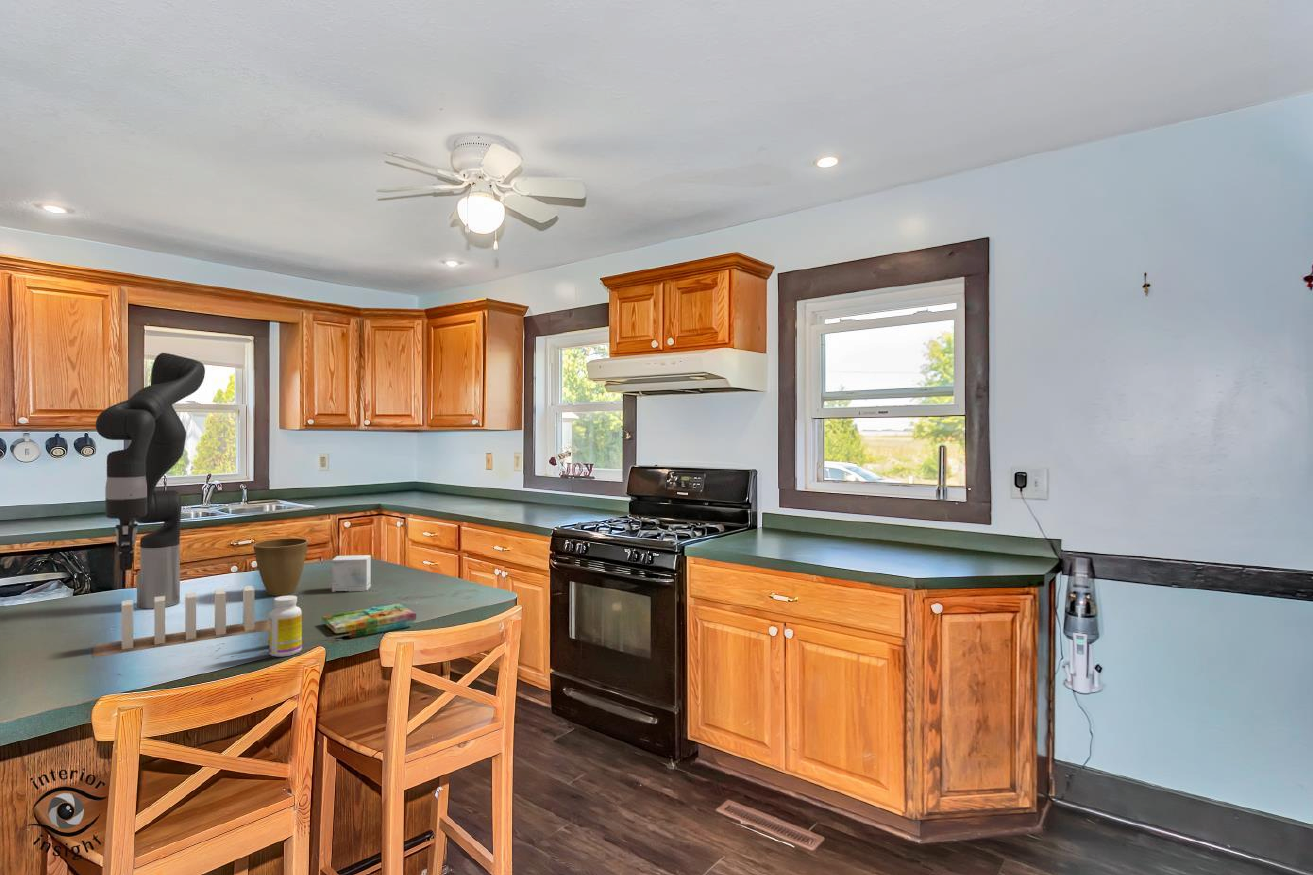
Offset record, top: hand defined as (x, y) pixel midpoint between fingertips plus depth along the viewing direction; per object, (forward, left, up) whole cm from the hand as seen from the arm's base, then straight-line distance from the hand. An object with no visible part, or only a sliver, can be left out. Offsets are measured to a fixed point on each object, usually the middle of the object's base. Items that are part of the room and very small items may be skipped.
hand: (126, 566), depth 154 cm
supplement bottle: (+36, +3, -20) cm, 41 cm away
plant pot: (+2, +54, -20) cm, 58 cm away
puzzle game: (+46, +22, -20) cm, 55 cm away
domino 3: (+9, +8, -18) cm, 22 cm away
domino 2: (+5, +4, -18) cm, 19 cm away
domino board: (+9, +8, -20) cm, 23 cm away
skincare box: (+21, +61, -20) cm, 68 cm away
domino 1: (0, 0, -18) cm, 18 cm away
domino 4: (+14, +12, -18) cm, 26 cm away
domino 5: (+18, +15, -18) cm, 30 cm away
